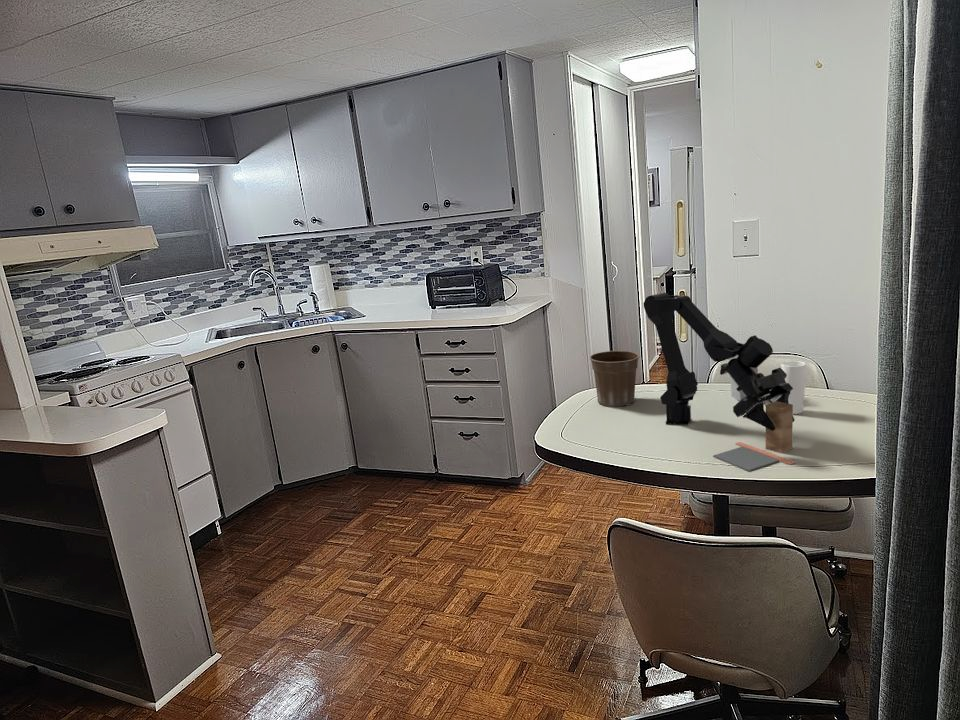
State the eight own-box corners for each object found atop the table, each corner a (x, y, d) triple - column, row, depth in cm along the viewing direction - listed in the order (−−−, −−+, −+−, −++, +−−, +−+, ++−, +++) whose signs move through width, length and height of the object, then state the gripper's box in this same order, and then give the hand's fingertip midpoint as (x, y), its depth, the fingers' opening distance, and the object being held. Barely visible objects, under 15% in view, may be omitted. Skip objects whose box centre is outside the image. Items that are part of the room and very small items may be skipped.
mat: (713, 456, 173) (713, 455, 173) (742, 447, 177) (742, 446, 177) (748, 471, 163) (748, 470, 162) (778, 461, 166) (778, 460, 166)
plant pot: (641, 394, 232) (639, 349, 228) (641, 408, 217) (639, 360, 213) (594, 395, 236) (591, 351, 232) (591, 410, 221) (588, 362, 217)
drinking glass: (805, 408, 201) (806, 360, 198) (805, 416, 195) (806, 366, 192) (781, 408, 204) (781, 360, 201) (780, 415, 198) (780, 366, 195)
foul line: (735, 444, 180) (735, 443, 180) (739, 442, 181) (739, 441, 181) (790, 464, 164) (790, 463, 164) (795, 463, 165) (795, 462, 164)
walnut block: (765, 448, 175) (765, 405, 172) (776, 444, 177) (776, 401, 175) (781, 453, 171) (782, 408, 168) (792, 448, 174) (792, 404, 171)
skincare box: (760, 400, 213) (760, 352, 209) (737, 402, 213) (737, 354, 209) (750, 393, 221) (749, 346, 217) (728, 395, 221) (727, 349, 217)
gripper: (742, 367, 167) (783, 418, 161) (786, 352, 177) (826, 400, 170) (716, 392, 176) (754, 441, 169) (759, 376, 185) (796, 422, 179)
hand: (783, 425), depth 172 cm, fingers open, 8 cm apart
